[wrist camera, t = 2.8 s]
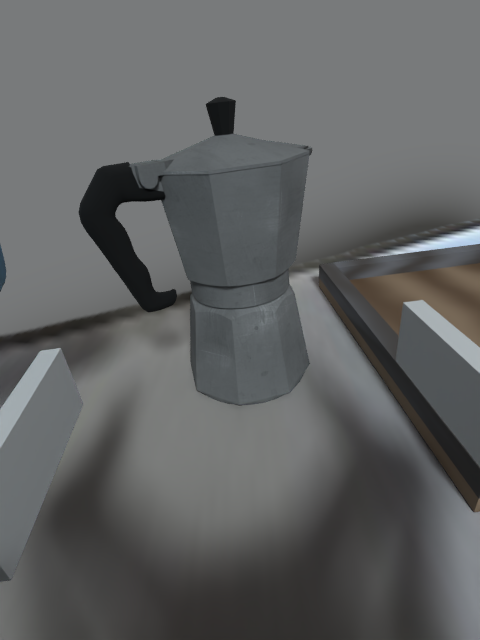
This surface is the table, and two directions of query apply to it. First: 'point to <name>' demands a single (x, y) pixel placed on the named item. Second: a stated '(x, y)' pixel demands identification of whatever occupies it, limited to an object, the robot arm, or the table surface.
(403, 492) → the table surface
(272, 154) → the coffeepot
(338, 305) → the tray
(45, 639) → the table surface
